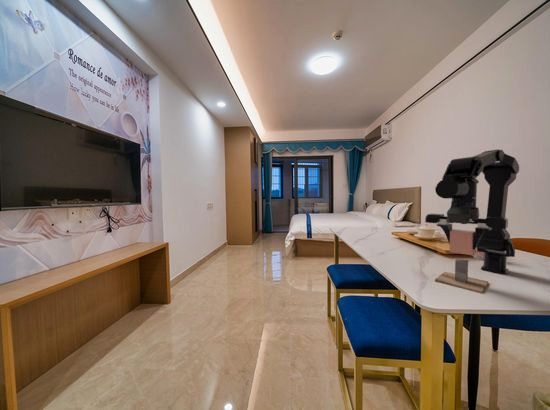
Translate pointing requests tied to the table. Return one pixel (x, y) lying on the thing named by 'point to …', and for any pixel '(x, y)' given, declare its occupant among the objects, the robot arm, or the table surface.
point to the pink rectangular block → (462, 241)
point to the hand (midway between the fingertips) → (462, 247)
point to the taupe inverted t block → (462, 278)
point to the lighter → (478, 255)
